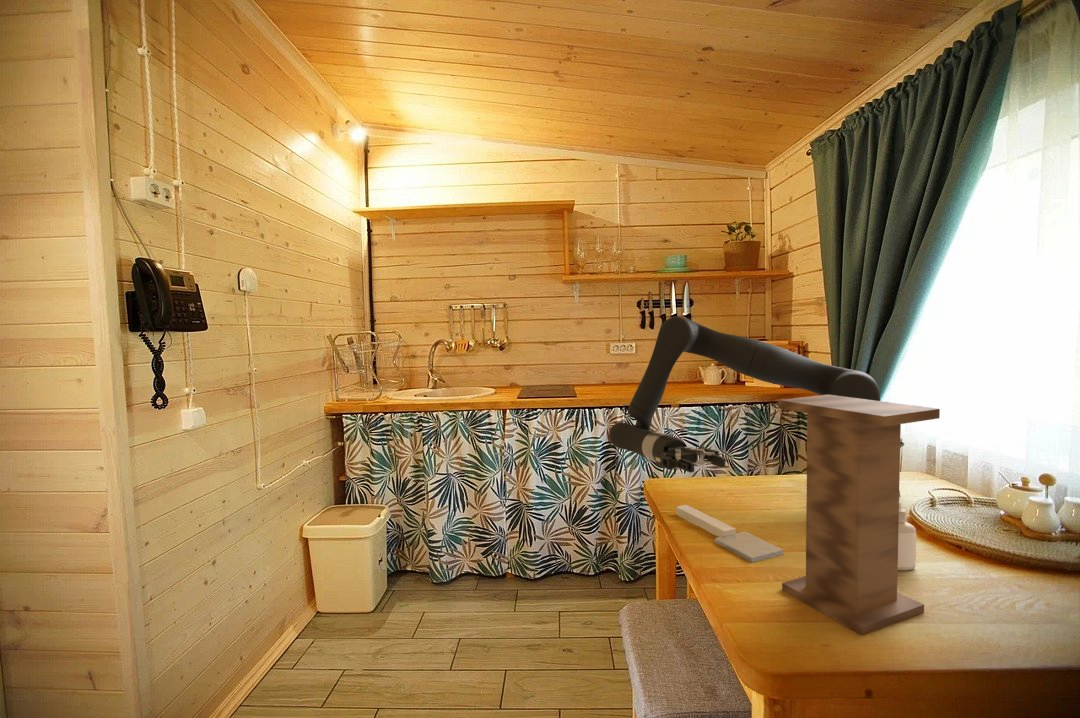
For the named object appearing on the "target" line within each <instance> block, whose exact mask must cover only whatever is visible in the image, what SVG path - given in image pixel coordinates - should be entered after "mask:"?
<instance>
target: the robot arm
mask: <svg viewBox="0 0 1080 718" xmlns="http://www.w3.org/2000/svg"><path fill="white" fill-rule="evenodd" d="M683 353H689V354H691V355H697V356H701V357H704V358H707V359H711V360H714V361H715V362H717V363H719V364H721V365H723V366H725V367H727V368H729V369H731V370H733V371H735V372H737V373H739V374H742V375H744V376H747V377H749V378H752V379H755V380H758V381H762V382H763V383H764V382H765V383H768V384H769V383H770V384H773V385H778V386H783V387H787V388H789V387H790V388H795V389H802V390H805V391H808V392H811V393H814V394H816V395H818V396H819V395H836V396H844V397H851V398H859V399H867V400H875V401H881V391H880V387H879V385H878V384H877V383H878V382H877V381H876V380H875V379H874V378H873V377H872V376H871V375H870V374H868V373H866V372H864V371H862V370H858V369H857V370H856V369H849V368H846V367H840V366H835V365H831V364H827V363H823V362H819V361H815V360H813V359H810V358H808V357H807V356H804V355H802V354H799V353H796V352H794V351H792V350H789V349H786V348H784V347H780V346H777V345H774V344H772V343H769V342H765V341H762V340H759V339H754V338H749V337H745V336H741V335H735V334H729V333H724V332H721V331H718V330H715V329H712V328H710V327H707V326H705V325H702V324H700V323H698V322H695V321H694V320H691V319H690V318H687V317H682V316H672V317H669V318H667V319H666V320H664V322H662V324H661V326H660V327H659V331H658V333H657V337H656V340H655V345H654V347H653V351H652V355H651V356H650V359H649V363H648V365H647V367H646V370H645V371H644V374H643V377H642V378H641V381H639V382H640V383H639V385H638V386H637V388H636V391H635V392H634V395H633V397H632V399H631V401H630V403H629V405H628V406H627V407H628V408H627V414H628V415H629V416H630V417H632V418H633V419H635V424H630V423H627V422H622V421H621V422H619V421H618V422H617V423H614V424H612V426H611V427H610V428H609V431H608V437H609V441H610V442H611V443H610V444H612V445H613V446H614V447H616V448H618V449H622V450H626V451H628V452H629V451H630V452H632V453H635V454H637V455H638V456H639V455H640V456H642V457H644V458H647V459H648V460H650V461H652V462H654V463H655V465H658V466H659V467H662V468H663V469H666V470H669V471H671V470H673V469H676V470H683V471H685V472H688V473H690V474H691V473H694V472H695V465H700V466H702V465H704V464H710V465H713V466H716V467H719V468H726V458H725V457H723V456H720V451H719V450H715V449H712V448H708V447H705V446H702V445H701V446H698V448H694V447H692V446H687V444H686V442H685V441H684V440H683V439H682V438H679V437H676V436H673V435H669V434H666V433H663V432H656V431H653V430H651V425H652V420H653V417H654V414H655V413H656V411H657V409H658V407H659V406H660V403H661V401H662V399H663V396H664V394H665V390H666V387H667V383H668V380H669V378H670V374H671V372H672V371H673V369H674V366H675V364H676V363H677V361H678V359H679V358H680V357H681V355H682V354H683ZM698 458H699V460H698Z"/></svg>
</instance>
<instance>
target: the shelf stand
mask: <svg viewBox="0 0 1080 718" xmlns="http://www.w3.org/2000/svg"><path fill="white" fill-rule="evenodd" d="M777 408H778V409H780V410H781V409H782V410H787V411H793V412H799V413H804V414H806V415H807V417H806V419H807V420H806V423H807V425H806V426H807V427H806V510H805V511H806V517H805V518H806V523H805V524H806V526H805V538H806V539H805V576H800V577H797V578H795V579H791V580H787V581H784V582H782V584H781V585H782V586H781V589H782V591H784V592H785V593H787V594H789V595H790V596H792V597H794V598H795V599H797V600H799V601H801V602H803V603H805V604H806V605H808V606H811V607H812V608H814V609H816V610H817V611H819V612H820V613H822V614H824V615H825V616H828V617H829V618H831V619H833V620H834V621H836V622H838V623H840V624H842V625H843V626H845V627H847V628H848V629H850V630H852V631H853V632H855V633H857V634H859V635H861V636H863V635H867V634H869V633H871V632H875V631H877V630H880V629H883V628H885V627H888V626H890V625H893V624H895V623H899V622H901V621H904V620H907V619H909V618H911V617H915V616H916V615H920V614H923V613H925V604H924V603H921V602H919V601H917V600H916V599H913V598H911V597H908V596H907V595H904V594H902V593H900V592H898V571H899V570H898V526H899V502H900V497H899V490H900V479H901V477H900V475H901V474H900V473H901V471H900V469H901V468H900V466H901V465H900V464H901V448H900V438H901V427H902V425H904V424H910V423H918V422H923V421H933V420H936V419H937V420H938V419H940V415H941V413H940V412H941V411H940V410H941V409H940V408H936V407H928V406H922V405H921V406H919V405H913V404H912V405H911V404H904V403H897V402H889V401H882V400H880V401H875V400H867V399H859V398H851V397H844V396H836V395H819V394H818V395H813V396H812V395H811V396H802V397H793V398H783V399H777Z"/></svg>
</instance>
